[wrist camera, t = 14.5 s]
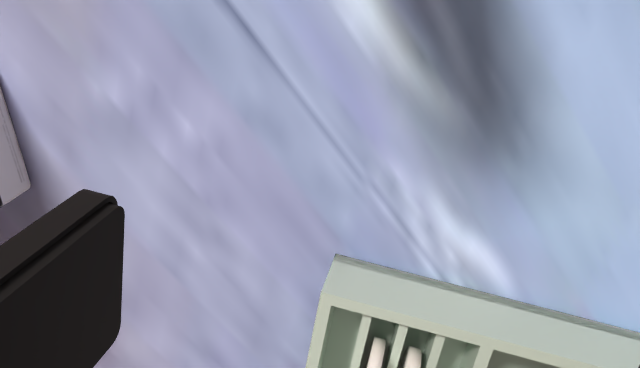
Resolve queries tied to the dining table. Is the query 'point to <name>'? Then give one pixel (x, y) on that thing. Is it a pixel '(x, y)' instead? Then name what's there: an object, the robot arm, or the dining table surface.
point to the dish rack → (452, 326)
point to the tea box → (10, 159)
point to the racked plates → (374, 363)
